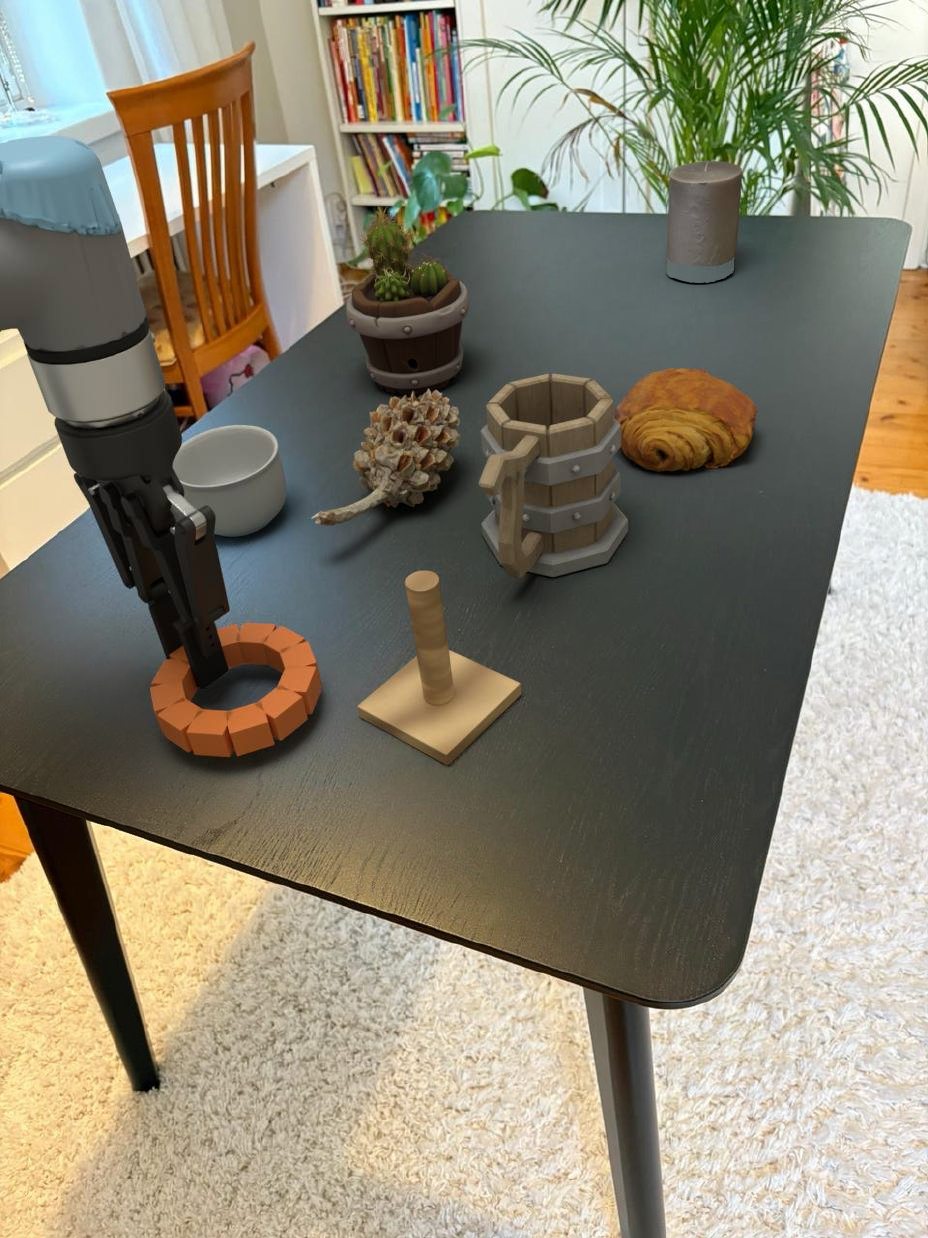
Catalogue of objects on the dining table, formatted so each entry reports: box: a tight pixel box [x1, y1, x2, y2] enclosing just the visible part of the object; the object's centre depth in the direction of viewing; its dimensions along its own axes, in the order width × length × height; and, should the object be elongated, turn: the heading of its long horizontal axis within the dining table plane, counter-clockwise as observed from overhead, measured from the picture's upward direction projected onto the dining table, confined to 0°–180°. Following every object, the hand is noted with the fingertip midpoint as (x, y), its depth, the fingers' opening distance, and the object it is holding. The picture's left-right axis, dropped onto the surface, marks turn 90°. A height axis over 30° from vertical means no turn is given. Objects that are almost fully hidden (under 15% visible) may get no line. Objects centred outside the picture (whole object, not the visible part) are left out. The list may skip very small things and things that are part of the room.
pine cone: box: [310, 388, 462, 526], centre depth 95 cm, size 22×10×10 cm, turn 155°
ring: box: [149, 622, 323, 758], centre depth 75 cm, size 12×12×2 cm
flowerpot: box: [345, 205, 470, 396], centre depth 115 cm, size 14×15×20 cm
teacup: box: [173, 424, 288, 538], centre depth 97 cm, size 14×11×8 cm
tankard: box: [478, 373, 629, 579], centre depth 85 cm, size 20×13×15 cm, turn 152°
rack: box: [356, 570, 522, 766], centre depth 72 cm, size 9×9×12 cm
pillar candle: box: [666, 160, 743, 267], centre depth 135 cm, size 10×10×15 cm
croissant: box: [613, 367, 759, 473], centre depth 101 cm, size 14×16×8 cm
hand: (199, 670), depth 78 cm, fingers closed on ring, 3 cm apart
